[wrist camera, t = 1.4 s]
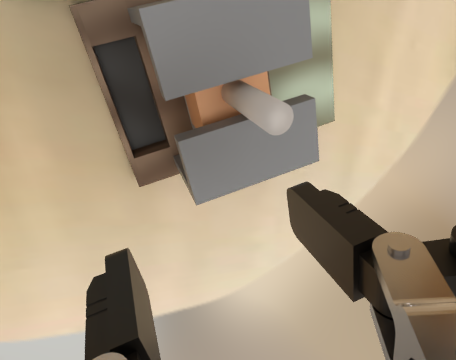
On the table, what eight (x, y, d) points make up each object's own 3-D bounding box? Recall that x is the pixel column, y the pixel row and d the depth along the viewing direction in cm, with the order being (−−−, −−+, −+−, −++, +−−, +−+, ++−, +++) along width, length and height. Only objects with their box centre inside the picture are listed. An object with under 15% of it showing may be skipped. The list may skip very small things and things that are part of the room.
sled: (169, 41, 28) (216, 62, 17) (236, 24, 29) (319, 34, 18) (193, 130, 32) (242, 192, 21) (250, 111, 33) (325, 162, 22)
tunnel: (127, 8, 26) (138, 8, 19) (256, -22, 28) (307, -31, 22) (175, 165, 33) (196, 205, 26) (276, 131, 35) (319, 160, 29)
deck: (70, 5, 27) (68, 5, 25) (313, -48, 31) (328, -52, 29) (136, 176, 35) (139, 187, 33) (321, 114, 39) (334, 120, 37)
